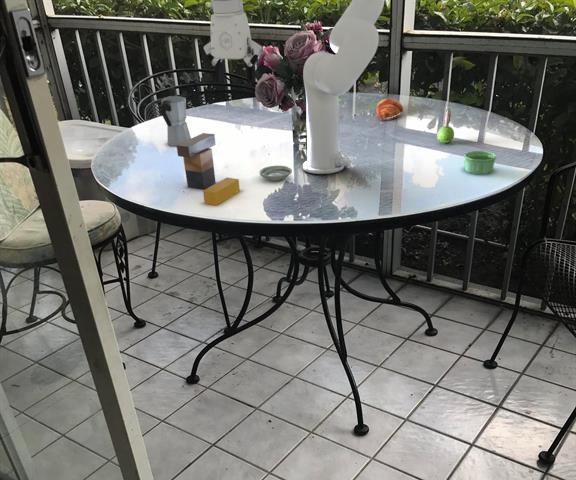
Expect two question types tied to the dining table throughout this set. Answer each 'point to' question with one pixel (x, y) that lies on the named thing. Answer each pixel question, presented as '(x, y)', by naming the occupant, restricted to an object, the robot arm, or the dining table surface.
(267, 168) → the saucer
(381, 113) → the croissant
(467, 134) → the dining table surface
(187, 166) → the tower
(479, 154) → the ramekin
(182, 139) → the coffee maker
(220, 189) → the top bar
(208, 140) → the lower bar
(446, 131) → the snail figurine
